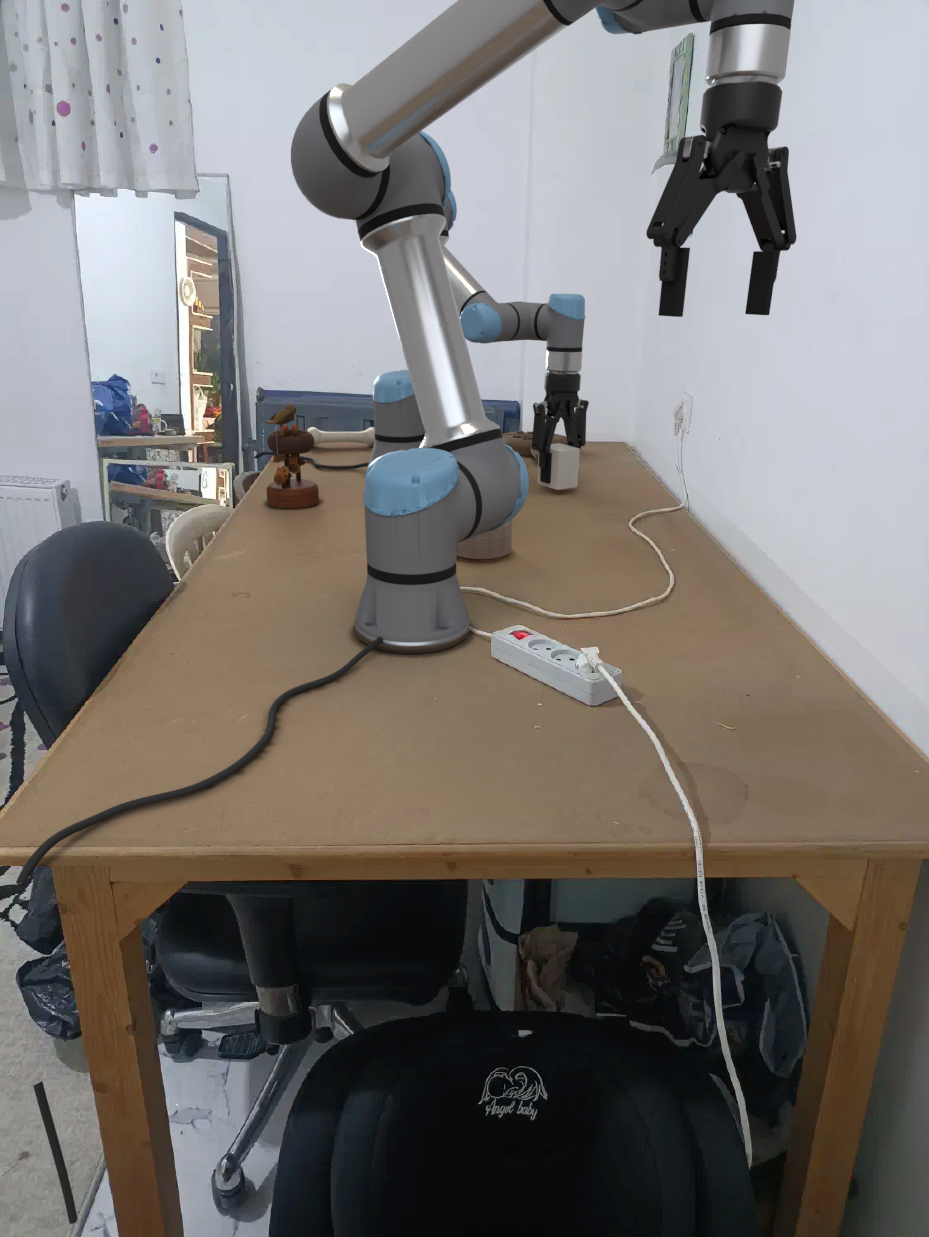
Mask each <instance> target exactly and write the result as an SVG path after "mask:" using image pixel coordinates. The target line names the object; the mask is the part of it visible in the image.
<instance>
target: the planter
mask: <svg viewBox="0 0 929 1237" xmlns="http://www.w3.org/2000/svg"><path fill="white" fill-rule="evenodd" d="M512 530H513V519H512V520H510V521H508V522H507V523H505V524H503V525H502V526H501V527H499V528H498V529H496V530H492V531H488V532H484V533H481V534H479V535H476V536H474V537H472V538H469V539H467V540H464V541H462V542H459V543H457V559H458V558H459V559H461V560H466V561H471V562H472V561H473V562H488V561H496V560H499V559H502V558H505V557H506V556H508V555H509V554H510V553H511V551H512V536H513V533H512V532H513V531H512Z"/></svg>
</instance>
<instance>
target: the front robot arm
mask: <svg viewBox="0 0 929 1237" xmlns="http://www.w3.org/2000/svg"><path fill="white" fill-rule="evenodd" d="M795 1H796V0H456V1H455V2H453V4H451V5H450V6H449V7H447V8H446V9H445V10H444V11H443V12H442V13H440V14H439V15H438V16H436V17H435V18H434V19H432V20H431V21H430V22H429V23H427V24H426V25H425V26H424V27H423V28H422V29H421V30H419V31H418V32H416V33H415V34H414V35H413V36H412V37H411V38H409V39H408V40H407V41H405V42H404V43H402V45H400V47H398V48H396V50H395V51H393V52H392V53H391V54H390V55H388V56H387V57H386V58H385V59H384V60H382V61H381V62H380V63H378V64H377V65H375V67H374V68H372V69H371V70H370V71H369V72H367V73H366V74H364V76H362V77H361V78H360V79H359V80H357V81H355V83H353V84H349V83H345V82H344V83H343V82H342V83H338V84H336V85H334V86H333V87H332V88H330V89H329V90H328V91H327V92H326V93H324V94H323V95H322V96H321V97H320V98H319V99H318V100H316V101H315V102H314V103H313V104H312V105H311V107H309V109H308V110H307V111H306V112H305V113H304V115H303V116H302V118H301V119H300V121H299V123H298V124H297V126H296V128H295V131H294V134H293V137H292V141H291V146H290V165H291V170H292V171H291V172H292V176H293V178H294V181H295V183H296V186H297V188H298V189H299V191H300V193H301V195H302V196H303V197H304V199H305V200H306V201H307V202H308V203H309V205H311V206H312V207H313V208H315V209H316V210H317V211H319V212H320V213H322V214H324V215H327V216H329V217H332V218H335V219H340V220H350V221H354V224H355V227H356V231H357V234H358V237H359V241H360V245H361V248H363V249H364V250H366V251H367V252H369V253H370V254H372V255H373V256H375V257H376V259H377V263H378V267H379V271H380V275H381V277H382V282H383V285H384V288H385V292H386V296H387V299H388V303H389V306H390V311H391V314H392V317H393V320H394V325H395V329H396V332H397V335H398V336H397V337H398V339H399V342H400V343H399V344H400V347H401V350H402V353H403V357H404V360H405V364H406V368H407V370H408V372H409V375H410V379H411V383H412V386H413V390H414V393H415V397H416V401H417V404H418V408H419V412H420V415H421V419H422V422H423V426H424V430H425V437H424V439H423V441H422V443H421V445H420V447H419V448H413V449H410V450H407V451H405V450H399V451H395V452H391V453H388V454H385V455H383V456H381V457H379V458H377V459H375V460H374V461H373V462H372V463H371V464H370V465H369V467H368V466H367V468H366V471H365V475H364V491H363V496H362V498H363V503H364V522H365V523H364V525H365V526H364V527H365V550H366V579H365V584H364V586H363V589H362V592H361V596H360V600H359V602H358V606H357V609H356V612H355V618H354V633H355V636H356V638H357V639H358V640H359V641H360V642H362V643H363V644H365V645H367V646H365V647H364V648H363V649H362V650H361V651H359V652H358V653H357V654H355V656H353V657H352V658H351V659H350V660H349V661H348V662H347V663H346V664H345V665H343V666H342V667H340V668H339V669H337V670H336V671H334V672H332V673H331V674H328V675H326V676H324V677H321V678H318V679H315V680H312V681H309V682H306V683H303V684H300V685H297V686H295V687H293V688H290V689H288V690H287V691H285V692H284V693H282V694H280V695H279V696H278V697H277V698H275V700H274V701H273V702H272V705H271V706H270V708H269V712H268V715H267V716H268V717H267V723H266V724H267V725H266V729H265V731H264V733H263V735H262V736H261V737H260V739H258V741H257V742H256V743H255V744H254V745H253V746H252V748H250V750H248V751H247V753H245V754H244V755H243V756H242V757H240V758H239V759H238V760H237V761H235V762H233V763H232V764H230V766H228V767H226V768H225V769H223V770H221V771H219V772H217V773H215V774H214V775H212V776H210V777H207V778H205V779H203V780H201V781H199V782H196V783H193V784H191V785H188V786H185V787H181V788H178V789H175V790H170V791H169V790H168V791H165V792H162V793H157V794H152V795H148V796H144V797H140V798H136V799H132V800H129V801H126V802H122V803H120V804H117V805H114V806H112V807H110V808H107V809H104V810H102V811H101V812H98V813H97V814H93V815H92V816H89V817H87V818H84V819H82V820H79V821H77V822H75V823H73V824H71V825H68V826H67V827H64V828H62V829H61V830H59V831H57V832H56V833H53V834H52V835H51V836H49V837H48V838H47V839H46V840H45V841H44V842H42V844H40V845H39V847H37V849H36V850H35V851H34V852H33V854H32V855H31V856H30V858H29V859H28V860H27V862H26V863H25V865H24V866H23V867H22V869H21V871H20V872H19V875H18V877H17V879H16V881H15V883H16V884H17V885H21V884H24V883H26V882H27V881H28V880H29V878H30V876H31V875H32V874H33V871H34V870H35V868H36V867H37V866H38V864H39V862H41V860H42V859H43V858H44V856H45V855H47V853H49V851H50V850H51V849H52V848H53V847H54V846H56V845H57V844H58V843H60V842H61V841H63V840H65V839H67V838H69V837H70V836H72V835H74V834H76V833H78V832H80V831H83V830H86V829H87V828H90V827H92V826H94V825H96V824H98V823H101V822H103V821H106V820H108V819H110V818H112V817H114V816H117V815H119V814H122V813H125V812H127V811H130V810H134V809H137V808H141V807H144V806H149V805H152V804H157V803H162V802H165V801H170V800H174V799H178V798H181V797H185V796H188V795H192V794H194V793H198V792H200V791H202V790H205V789H206V788H209V787H211V786H213V785H215V784H217V783H219V782H220V781H222V780H224V779H226V778H228V777H230V776H231V775H232V774H234V773H236V772H238V771H239V770H240V769H241V768H243V767H245V766H246V765H247V764H248V763H249V762H250V761H251V760H252V759H254V758H255V756H257V755H258V754H259V752H260V751H261V750H262V749H263V748H264V747H265V746H266V745H267V743H268V742H269V741H270V739H271V737H272V735H273V733H274V731H275V726H276V715H277V711H278V710H279V708H280V707H281V705H282V704H283V703H284V702H285V701H287V700H288V699H289V698H291V697H293V696H295V695H297V694H299V693H301V692H305V691H307V690H310V689H313V688H317V687H319V686H323V685H325V684H328V683H330V682H332V681H334V680H336V679H338V678H340V677H342V676H343V675H344V674H346V673H347V672H349V671H350V670H351V669H352V668H353V667H355V665H356V664H358V663H359V662H360V661H361V660H363V658H364V657H365V656H367V655H368V654H369V653H370V652H372V651H373V650H374V649H377V650H380V651H384V652H390V653H396V654H397V653H398V654H425V653H433V652H439V651H443V650H446V649H449V648H452V647H455V646H457V645H458V644H460V643H462V642H463V641H464V640H466V639H467V637H468V636H469V634H470V616H469V612H468V608H467V606H466V601H465V599H464V596H463V593H462V589H461V586H460V583H459V581H458V577H457V561H458V560H457V559H458V557H457V543H459V542H462V541H464V540H467V539H469V538H472V537H474V536H476V535H479V534H481V533H484V532H488V531H492V530H496V529H498V528H499V527H501V526H502V525H503V524H505V523H507V522H508V521H510V520H512V521H513V519H514V518H515V517H516V516H517V515H518V514H519V513H520V512H521V510H522V509H523V506H524V505H525V503H526V501H527V498H528V493H529V487H530V486H529V485H530V481H529V473H528V469H527V466H526V463H525V461H524V459H523V458H522V455H519V454H518V452H515V451H514V450H513V449H512V447H510V446H508V445H506V444H504V441H503V437H502V434H503V433H502V430H501V427H500V425H499V424H498V423H495V422H494V421H492V420H491V419H489V418H488V417H487V416H486V412H485V409H484V406H483V402H482V398H481V394H480V391H479V386H478V383H477V379H476V375H475V371H474V368H473V363H472V360H471V356H470V353H469V348H468V344H467V339H466V338H465V337H464V333H463V329H462V325H461V321H460V317H459V314H458V310H457V306H456V302H455V298H454V295H453V291H452V287H451V283H450V279H449V275H448V272H447V268H446V264H445V260H444V256H443V253H442V249H441V245H440V241H439V236H440V234H441V232H442V230H443V228H444V226H445V224H446V219H445V215H444V209H445V207H446V205H447V202H448V199H447V195H448V193H450V189H451V190H452V188H451V187H452V177H451V170H450V166H449V162H448V159H447V157H446V155H445V153H444V151H443V149H442V148H441V146H440V145H439V143H438V142H437V141H436V140H435V139H434V138H433V136H431V135H430V134H428V133H426V132H425V131H423V130H425V129H426V128H428V127H429V126H431V125H432V124H433V123H434V122H436V121H437V120H439V119H440V118H441V117H443V116H444V115H446V114H448V112H450V111H451V110H452V109H454V108H456V107H457V106H458V105H460V104H461V103H462V102H464V101H465V100H466V99H468V98H470V97H471V96H473V94H475V93H477V92H478V91H479V90H481V89H483V87H485V86H486V85H487V84H489V83H490V82H492V81H493V80H495V79H496V78H498V77H499V76H501V74H503V73H504V72H506V71H507V70H509V69H510V68H511V67H513V66H514V65H515V64H517V63H518V62H520V61H521V60H523V59H524V58H526V56H528V55H529V54H531V53H532V52H534V51H536V49H538V48H539V47H541V46H542V45H544V44H545V43H546V42H548V41H549V40H550V39H552V38H554V37H555V36H556V35H557V34H559V33H560V32H562V31H563V30H564V29H566V28H567V27H570V26H571V25H572V24H574V23H576V22H577V21H579V20H580V19H581V18H583V17H584V16H585V15H587V14H589V13H590V12H591V11H593V10H595V14H596V16H597V19H599V20H600V24H601V27H602V29H603V30H604V31H606V32H607V33H609V34H612V35H623V34H632V35H642V34H643V33H647V32H652V31H658V30H664V29H670V28H675V27H682V26H687V25H693V24H694V25H695V24H699V23H700V24H702V23H709V22H710V26H709V27H710V28H709V41H708V51H707V57H706V58H707V59H706V68H705V78H704V82H705V83H706V84H707V85H708V86H709V87H708V88H706V90H705V92H704V93H703V94H702V103H701V112H700V120H699V129H700V132H701V133H703V134H698V135H691V136H685V137H682V138H680V140H679V142H678V146H677V147H678V148H677V152H676V153H677V154H676V160H675V162H674V165H673V168H672V170H671V173H670V174H669V177H668V179H667V181H666V184H665V186H664V188H663V191H662V194H661V196H660V198H659V200H658V203H657V206H656V208H655V210H654V213H653V215H652V216H651V220H650V222H649V223H648V226H647V229H646V233H645V234H646V237H647V239H648V240H652V243H653V246H654V247H655V248H660V249H661V250H660V260H659V270H658V278H659V281H660V282H661V286H660V294H659V295H660V296H659V306H658V316H659V317H674V318H683V316H684V309H685V299H686V292H687V291H686V289H687V279H688V270H689V263H690V262H689V261H690V253H691V247H683V245H684V244H685V243H686V241H687V240H688V238H689V236H691V234H692V233H693V231H694V229H695V228H696V226H697V225H698V224H699V222H700V221H701V219H702V217H703V216H704V214H705V213H706V212H707V210H708V208H709V207H710V205H711V204H712V203H713V201H714V199H715V198H716V196H717V195H718V194H720V193H721V192H726V193H727V194H735V195H736V197H737V198H739V199H740V200H741V201H742V204H743V206H744V209H745V211H746V215H747V218H748V220H749V224H750V225H751V229H752V231H753V233H754V236H755V238H756V241H757V244H758V247H759V250H760V251H759V250H757V251H753V253H752V258H751V268H750V274H749V275H750V276H749V283H748V290H747V297H746V305H745V312H744V314H745V315H753V316H770V312H771V304H772V298H773V291H774V286H775V282H776V280H777V277H778V276H777V275H778V270H779V269H778V268H779V262H780V256H781V252H787V251H789V250H790V249H791V246H793V245H795V244H796V242H797V230H796V222H795V216H794V209H793V202H792V194H791V186H790V180H789V179H790V178H789V171H788V170H789V169H788V168H789V155H790V150H789V147H788V146H785V145H784V146H778V147H777V146H776V147H770V148H769V136H770V134H771V133H772V132H774V131H775V130H776V129H777V128H778V126H779V120H780V113H781V105H782V97H783V90H782V88H781V87H780V86H779V85H778V84H780V83H781V82H783V80H784V79H785V78H786V73H787V65H788V58H789V57H788V56H789V49H790V43H791V42H790V40H791V28H792V20H793V13H794V6H795ZM704 134H705V135H704ZM702 165H703V166H702ZM783 231H784V232H783ZM32 1086H33V1090H34V1094H35V1097H36V1101H37V1105H38V1109H39V1112H40V1115H41V1116H40V1117H41V1120H42V1123H43V1126H44V1129H45V1133H46V1137H47V1140H48V1144H49V1147H50V1150H51V1154H52V1157H53V1161H54V1165H55V1169H56V1173H57V1176H58V1180H59V1184H60V1188H61V1193H62V1197H63V1200H64V1205H65V1211H66V1215H67V1218H68V1223H69V1224H70V1225H73V1224H76V1222H78V1212H77V1209H76V1204H75V1199H74V1194H73V1189H72V1186H71V1182H70V1178H69V1174H68V1170H67V1166H66V1162H65V1159H64V1155H63V1151H62V1148H61V1144H60V1140H59V1136H58V1134H57V1128H56V1126H55V1123H54V1122H55V1121H54V1119H53V1115H52V1112H51V1108H50V1104H49V1101H48V1098H47V1097H48V1096H47V1093H46V1089H45V1086H44V1081H43V1080H42V1081H39V1082H37V1083H35V1084H34V1085H32Z"/></svg>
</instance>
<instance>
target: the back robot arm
mask: <svg viewBox="0 0 929 1237" xmlns="http://www.w3.org/2000/svg"><path fill="white" fill-rule="evenodd" d="M447 199H448V202H447V205H446V207H445V209H444V215H445V219H446V224H445V226H444V228H443V230H442V232H441V234H440V236H439V241H440V245H441V249H442V253H443V256H444V260H445V264H446V268H447V272H448V275H449V279H450V283H451V287H452V291H453V295H454V298H455V302H456V306H457V310H458V314H459V317H460V321H461V325H462V329H463V333H464V337H465V340H466V341H469V342H471V343H475V344H476V343H477V344H483V345H485V344H491V343H500V342H514V341H539V342H540V341H541V342H546V351H545V354H546V355H545V370H546V371H547V372H546V373H545V374H544V387H543V388H544V390H545V395H544V399H543V401H540V402H534V403H533V404H532V409H533V413H534V416H533V425H532V426H533V427H532V431H533V436H532V449H533V450H536V451H538V452H539V467H541V473H540V481H541V482H544V483H547V484H549V483H550V482H551V463H552V453H549V450H550V447H551V443H552V439H553V436H554V434H555V432H556V429H557V426H558V423H559V422H560V420H562V422H563V427H564V432H565V436H566V438H567V444H568V446H572V447H576V448H580V451H581V449H582V447H585V446H586V444H587V443H586V442H587V440H586V438H587V410H588V407H589V405H590V402H589V400H586V399H581V398H580V397H579V394H578V392H579V391H580V390H581V380H582V379H581V378H582V375H581V373H579V372H581V371H582V366H583V365H582V364H583V340H584V331H585V320H586V299H585V297H584V295H583V294H580V293H551V294H550V295H549V296H548V302H545V303H544V302H543V303H541V302H528V301H527V302H526V301H507V302H497V301H496V300H495V299H494V298H493V296H492V295H491V294H489V293H488V291H487V290H486V289H485V288H484V287H483V286H482V285H481V284H480V283H479V282H478V281H477V280H476V278H474V276H473V275H472V274H471V273H470V272H469V271H468V270H467V269H466V268H465V267H464V265H463V264H462V263H461V262H460V261H459V260H458V259H457V258H456V257H455V255H453V253H452V252H451V251H450V250H449V249H448V248H447V247H446V245H447V243H448V242H449V240H450V233H449V232H450V231H451V230H452V228H453V227H454V222H455V221H456V220H457V214H458V207H457V200H456V198H455V195H454V192H453V191H452V188H451V189H450V193H448V195H447ZM372 401H373V402H372V403H373V427H374V434H375V443H374V446H372V451H371V454H370V457H369V462H363V463H358V464H351V465H329V464H321V463H318V460H317V459H315V458H314V457H310V456H303V455H300V458H301V459H302V460H304V461H308V462H312V463H313V464H314V466H315V467H317V468H319V469H325V470H355V469H360V468H365V467H367V468H368V467H369V465H370V464H371V463H372V462H373V461H374V460H375V459H377V458H379V457H381V456H383V455H385V454H388V453H391V452H395V451H399V450H405V451H407V450H410V449H413V448H419V447H420V445H421V443H422V441H423V439H424V437H425V430H424V426H423V422H422V419H421V415H420V412H419V408H418V404H417V401H416V397H415V393H414V390H413V386H412V383H411V379H410V375H409V372H408V369H401V370H391V371H388V372H384V373H381V374H380V375H377V376H376V377H375V379H374V380H373V392H372ZM544 446H545V447H544ZM266 455H267V456H276V455H277V453H274V452H273V451H271V450H264V451H261V452H258V453H257V454H256V455H255V456H254V457H253V459H259V458H260V457H262V456H266ZM278 455H280V454H278ZM290 457H291V456H290Z"/></svg>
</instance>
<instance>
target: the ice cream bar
mask: <svg viewBox="0 0 929 1237" xmlns="http://www.w3.org/2000/svg"><path fill="white" fill-rule="evenodd" d="M532 436H533V430H532V431H524V430H519V431H509V432H505V433H502V437H503V441H504V444H506V445H508V446H510V447H512V449H513V450H514V451H515V452H518V454H519V455H520V456H532V457H533V458H534V459H535V460H538V454H539V452H538V451H536V450H533V449H532ZM556 443H561V444H565V445H568V444H567V438H566V435H564V434H563V435H562V434H558V433H554V436H553V439H552V443H551V444H556Z"/></svg>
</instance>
